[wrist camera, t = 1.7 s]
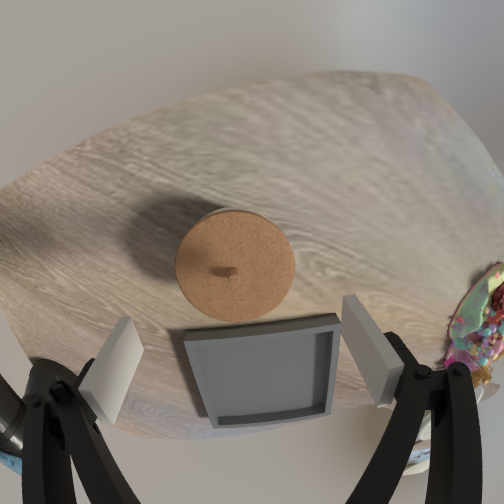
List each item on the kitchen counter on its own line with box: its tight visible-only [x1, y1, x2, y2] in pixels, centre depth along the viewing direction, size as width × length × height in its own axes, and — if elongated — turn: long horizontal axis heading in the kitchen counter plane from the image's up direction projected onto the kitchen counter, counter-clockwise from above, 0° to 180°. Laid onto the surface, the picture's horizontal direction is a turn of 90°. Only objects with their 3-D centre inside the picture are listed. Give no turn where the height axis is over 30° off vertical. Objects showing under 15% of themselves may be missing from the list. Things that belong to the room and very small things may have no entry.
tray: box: [183, 313, 341, 429], centre depth 37 cm, size 20×20×2 cm
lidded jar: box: [175, 206, 295, 322], centre depth 27 cm, size 11×11×9 cm
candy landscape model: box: [443, 263, 504, 388], centre depth 35 cm, size 25×24×9 cm
